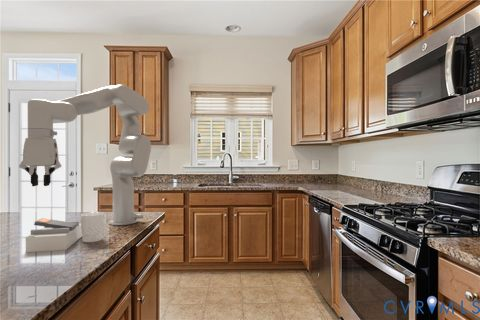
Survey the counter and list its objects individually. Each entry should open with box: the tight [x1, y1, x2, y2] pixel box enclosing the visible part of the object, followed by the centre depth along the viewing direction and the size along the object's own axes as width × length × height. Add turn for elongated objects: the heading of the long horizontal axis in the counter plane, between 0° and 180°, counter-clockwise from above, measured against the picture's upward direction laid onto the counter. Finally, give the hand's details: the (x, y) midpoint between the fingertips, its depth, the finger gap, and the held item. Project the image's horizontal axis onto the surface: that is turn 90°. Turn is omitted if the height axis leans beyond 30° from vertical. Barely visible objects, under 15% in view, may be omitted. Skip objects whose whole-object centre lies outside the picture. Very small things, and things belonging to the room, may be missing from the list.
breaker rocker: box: [33, 217, 77, 230], centre depth 107 cm, size 12×6×1 cm, turn 103°
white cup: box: [80, 211, 105, 243], centre depth 112 cm, size 8×8×10 cm
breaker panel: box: [25, 221, 82, 253], centre depth 107 cm, size 12×18×6 cm, turn 13°
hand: (40, 185), depth 106 cm, fingers open, 3 cm apart
